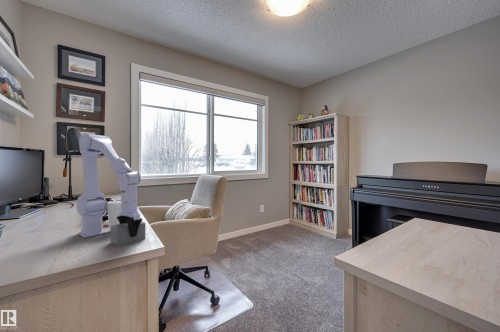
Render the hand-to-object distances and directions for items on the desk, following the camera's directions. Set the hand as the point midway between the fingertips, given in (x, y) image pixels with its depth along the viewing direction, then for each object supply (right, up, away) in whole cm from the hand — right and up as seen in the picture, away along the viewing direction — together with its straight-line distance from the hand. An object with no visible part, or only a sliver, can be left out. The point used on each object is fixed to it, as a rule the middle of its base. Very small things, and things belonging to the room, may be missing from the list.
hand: (129, 234), depth 86 cm
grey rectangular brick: (0, -2, 0) cm, 2 cm away
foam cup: (-13, -2, +13) cm, 18 cm away
